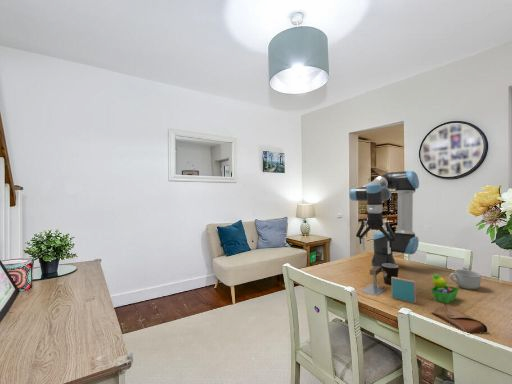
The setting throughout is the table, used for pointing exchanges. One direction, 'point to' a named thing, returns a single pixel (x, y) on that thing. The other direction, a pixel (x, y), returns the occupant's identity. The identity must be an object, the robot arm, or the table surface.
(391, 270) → the coffee mug
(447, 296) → the fruit basket
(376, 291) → the grey post stand
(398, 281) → the tile
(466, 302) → the table surface
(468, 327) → the sunglasses case
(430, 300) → the table surface
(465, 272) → the teacup
